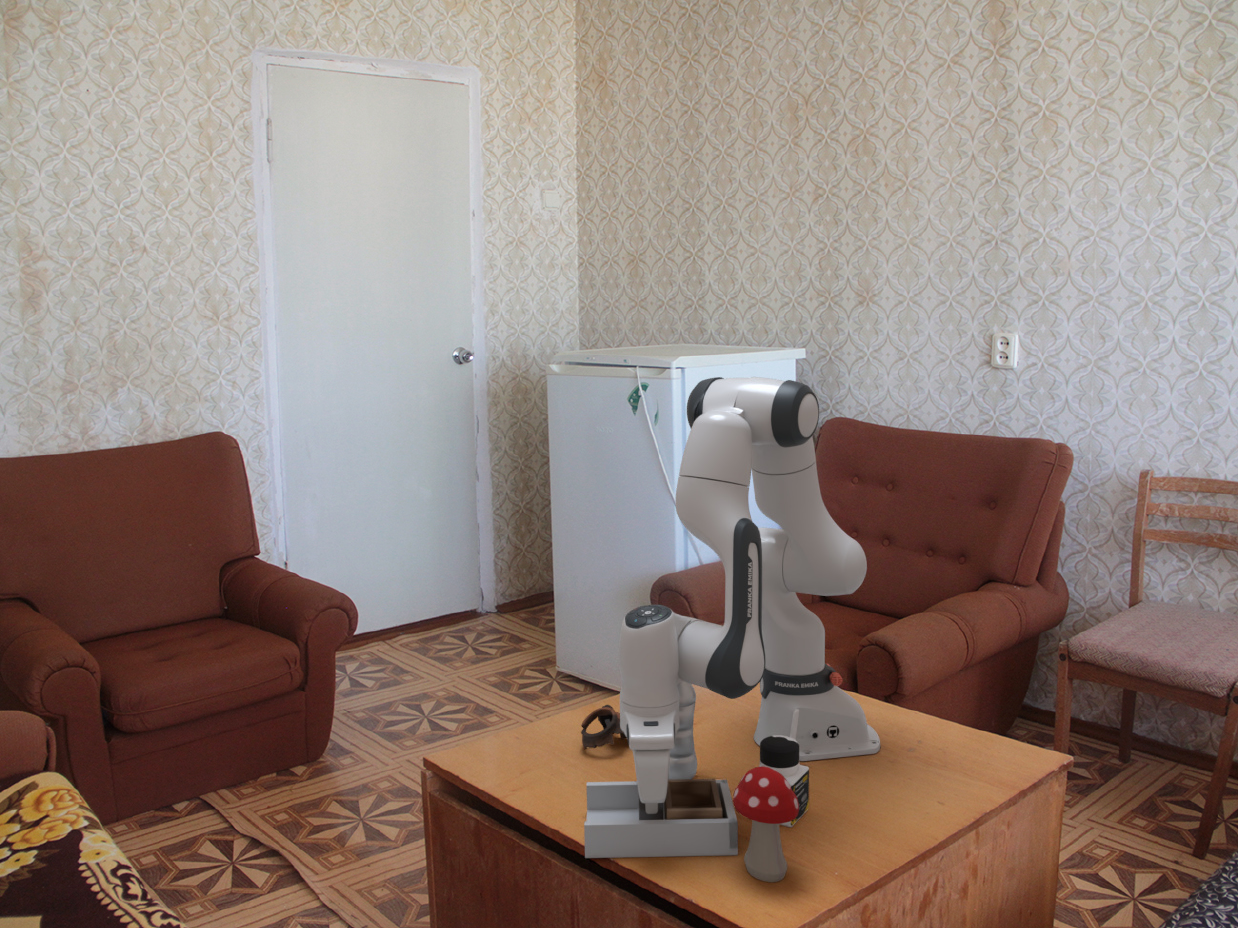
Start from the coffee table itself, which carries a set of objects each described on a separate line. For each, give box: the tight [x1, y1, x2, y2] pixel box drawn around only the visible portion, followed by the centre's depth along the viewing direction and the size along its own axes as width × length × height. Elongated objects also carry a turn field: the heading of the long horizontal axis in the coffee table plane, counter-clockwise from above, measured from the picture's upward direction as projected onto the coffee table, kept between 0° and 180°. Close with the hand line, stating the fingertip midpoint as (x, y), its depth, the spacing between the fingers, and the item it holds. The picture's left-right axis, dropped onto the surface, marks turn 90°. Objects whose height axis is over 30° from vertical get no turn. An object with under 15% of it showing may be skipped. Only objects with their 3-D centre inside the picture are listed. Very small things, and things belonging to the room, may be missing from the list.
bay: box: [583, 779, 739, 859], centre depth 156 cm, size 22×14×5 cm, turn 90°
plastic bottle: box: [668, 681, 698, 780], centre depth 173 cm, size 6×7×20 cm
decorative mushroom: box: [732, 766, 799, 883], centre depth 144 cm, size 10×9×15 cm
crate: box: [638, 778, 722, 820], centre depth 156 cm, size 12×10×7 cm
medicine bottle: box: [757, 735, 810, 828], centre depth 161 cm, size 7×7×12 cm
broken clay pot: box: [580, 704, 627, 750], centre depth 189 cm, size 12×10×8 cm
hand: (650, 803), depth 156 cm, fingers open, 3 cm apart
